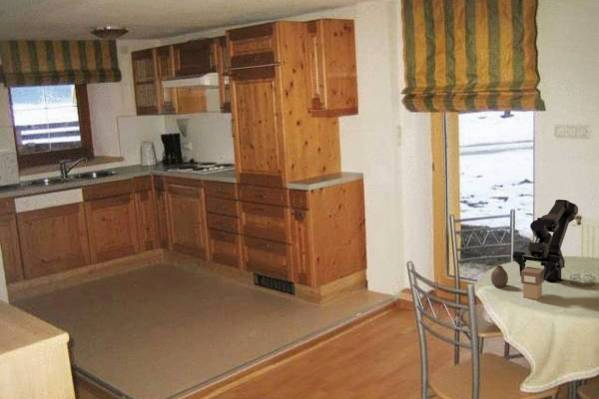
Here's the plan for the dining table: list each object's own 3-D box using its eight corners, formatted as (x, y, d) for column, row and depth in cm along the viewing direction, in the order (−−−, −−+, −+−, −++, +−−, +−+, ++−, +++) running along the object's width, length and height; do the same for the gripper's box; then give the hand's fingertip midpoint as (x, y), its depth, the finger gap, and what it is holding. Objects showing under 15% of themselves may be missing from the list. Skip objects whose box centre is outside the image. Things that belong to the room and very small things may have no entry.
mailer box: (528, 293, 260) (528, 269, 258) (542, 295, 256) (542, 271, 254) (523, 297, 255) (523, 272, 253) (537, 299, 252) (537, 274, 250)
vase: (508, 288, 266) (508, 268, 265) (491, 288, 268) (491, 268, 266) (507, 283, 273) (507, 263, 271) (490, 283, 274) (490, 263, 273)
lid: (527, 278, 259) (527, 266, 258) (544, 280, 255) (544, 269, 254) (521, 283, 254) (521, 271, 253) (538, 285, 250) (538, 273, 249)
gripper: (514, 231, 261) (503, 264, 254) (561, 236, 249) (551, 271, 243) (521, 245, 268) (511, 278, 262) (567, 251, 256) (558, 285, 250)
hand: (532, 277), depth 254 cm, fingers open, 9 cm apart
